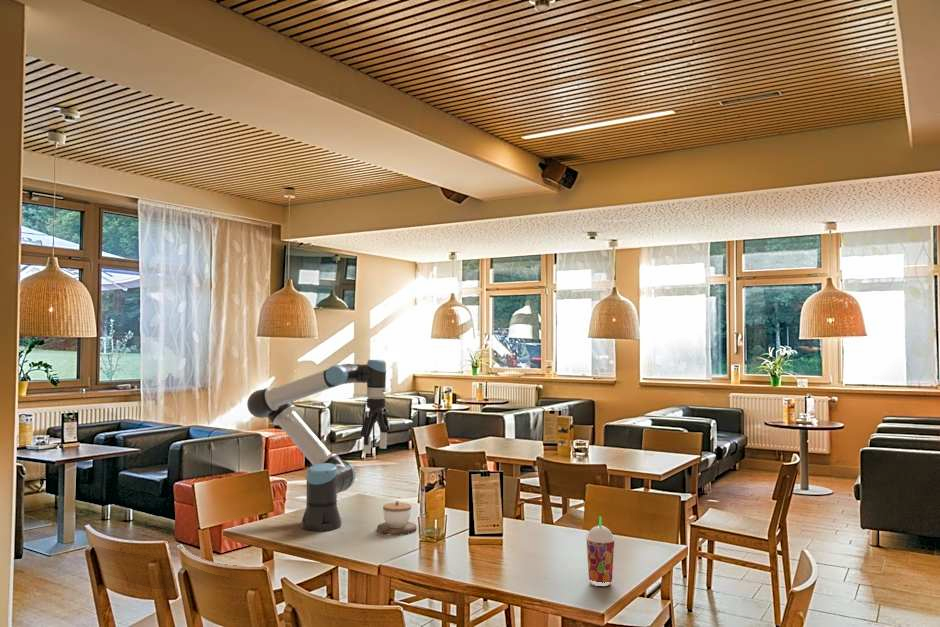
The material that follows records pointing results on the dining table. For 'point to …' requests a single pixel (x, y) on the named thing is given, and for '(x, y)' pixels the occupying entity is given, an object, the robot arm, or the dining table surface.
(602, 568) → the smoothie
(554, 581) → the dining table surface
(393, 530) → the stand
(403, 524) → the lidded jar
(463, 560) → the dining table surface
